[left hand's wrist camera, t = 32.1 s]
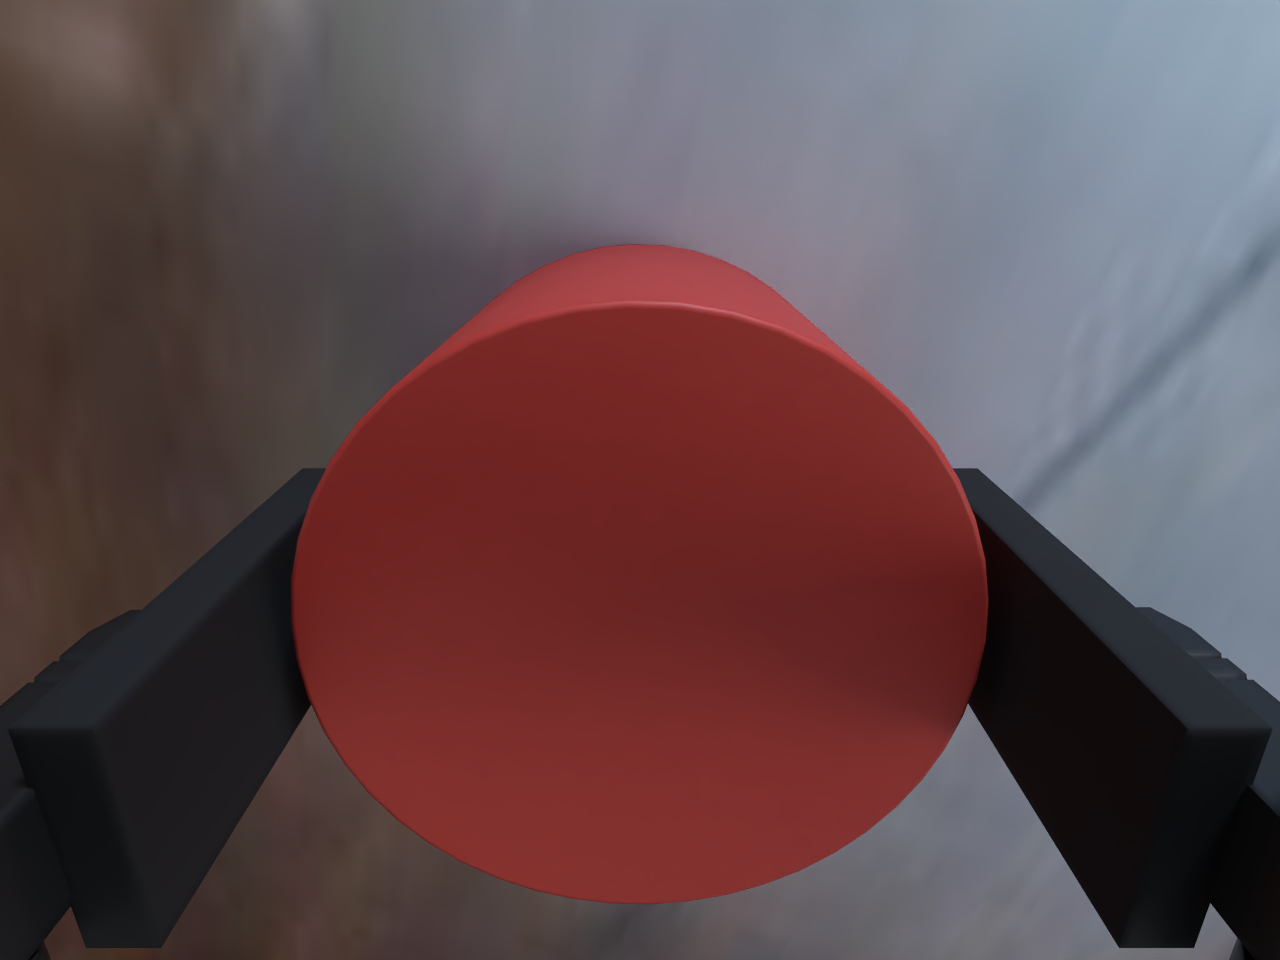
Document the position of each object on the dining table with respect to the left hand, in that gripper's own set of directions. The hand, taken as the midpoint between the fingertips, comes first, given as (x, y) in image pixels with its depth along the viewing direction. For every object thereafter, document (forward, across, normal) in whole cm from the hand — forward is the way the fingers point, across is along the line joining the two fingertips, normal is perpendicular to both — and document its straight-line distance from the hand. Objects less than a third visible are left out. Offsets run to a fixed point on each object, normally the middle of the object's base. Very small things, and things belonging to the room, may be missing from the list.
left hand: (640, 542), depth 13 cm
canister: (+4, 0, 0) cm, 4 cm away
